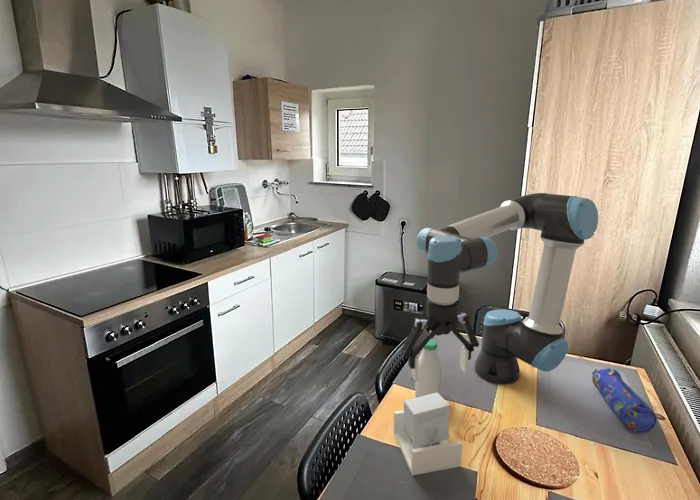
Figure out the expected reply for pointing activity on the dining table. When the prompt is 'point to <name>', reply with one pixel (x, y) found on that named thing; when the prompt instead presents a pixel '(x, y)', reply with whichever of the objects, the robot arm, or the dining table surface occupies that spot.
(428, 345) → the milk bottle
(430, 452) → the peg frame
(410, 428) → the skincare box
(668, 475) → the dining table surface
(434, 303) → the robot arm
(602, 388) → the pencil case
